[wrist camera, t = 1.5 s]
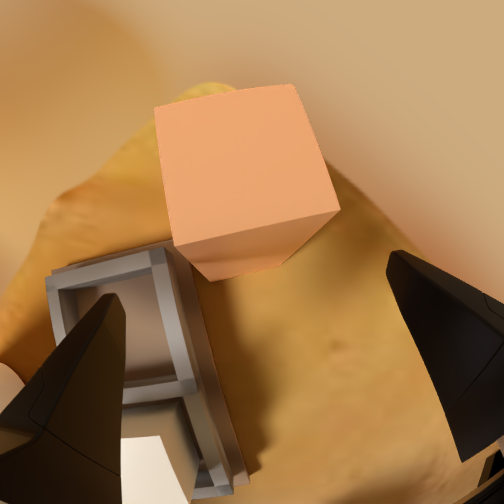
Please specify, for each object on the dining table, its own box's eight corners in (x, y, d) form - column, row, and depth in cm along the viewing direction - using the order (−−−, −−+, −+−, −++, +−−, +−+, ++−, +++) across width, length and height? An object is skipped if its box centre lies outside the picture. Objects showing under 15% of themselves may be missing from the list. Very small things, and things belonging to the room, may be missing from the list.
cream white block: (200, 460, 18) (189, 506, 12) (137, 466, 17) (112, 506, 11) (179, 401, 18) (159, 435, 12) (115, 409, 18) (79, 439, 12)
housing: (249, 476, 19) (251, 501, 15) (122, 487, 17) (108, 509, 14) (186, 240, 22) (176, 226, 18) (59, 272, 20) (33, 266, 17)
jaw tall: (279, 266, 22) (340, 209, 9) (210, 282, 21) (174, 246, 8) (262, 200, 22) (293, 83, 10) (196, 215, 22) (153, 108, 9)
